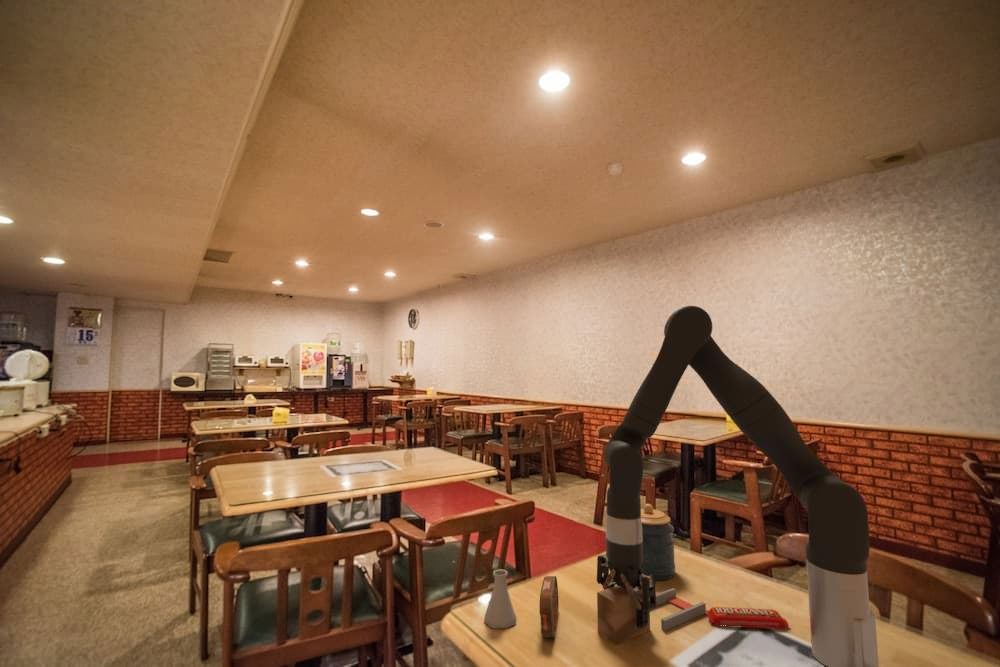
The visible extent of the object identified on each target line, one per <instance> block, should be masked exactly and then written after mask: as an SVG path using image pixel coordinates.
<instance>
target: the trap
mask: <svg viewBox="0 0 1000 667" xmlns="http://www.w3.org/2000/svg"><path fill="white" fill-rule="evenodd" d="M667 602H668V604H671V605H673V606H675V607H677V608H679V609H681V610H684V609H686V608H689V607H691V606H694V605H695V604H692V603H689V602H687V601H685V600H684V599H681V598H679V597H677V596H676V597H675V598H673V599H670V600H668V601H667Z"/></svg>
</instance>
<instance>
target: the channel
mask: <svg viewBox="0 0 1000 667" xmlns="http://www.w3.org/2000/svg"><path fill="white" fill-rule="evenodd" d="M675 597H677V589H676V588H674V587H672V588H670V589H667V590H664V591H661V592H657V593H656V605H657V606H659V605H662V604H665V603H667V602H668V600H670V599H673V598H675ZM649 601H650V598H649ZM706 604H707V603H706V602H704V601H701V602H699V603H697V604H693V605H694V606H691V607H689V608H686V609H684V610H683V609H681V610H679V611H677V612H675V613H673V614H670V615H668V616H666V617H663V618H662V619H660V622H661V630H662V631H664V632H666V631H668V630H670V629H673V628H675V627H677V626H680V625H682V624H684V623H686V622H689V621H690V620H693V619H695V618H697V617H699V616H702V615H704V614H707V612H706V610H707V608H706Z"/></svg>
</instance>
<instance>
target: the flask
mask: <svg viewBox="0 0 1000 667" xmlns="http://www.w3.org/2000/svg"><path fill="white" fill-rule="evenodd" d="M492 575H493V577H494V583H493V584H494V585H493V590H492V592H491V596H490V598H489V599H490V600H489V602H488V605H487V608H486V611H485V614H484V620H483V622H484V623H485V624H486V625H487V626H488V627H489V628H491V629H507V628H509V627H512V626H515V625H517V616H516V612H515V609H514V606H513V603H512V600H511V597H510V593H509V590H508V584H507V577H508V571H507V570H506V569H501V568H500V569H499V568H498V569H495V570H493V572H492Z"/></svg>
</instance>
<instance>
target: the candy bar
mask: <svg viewBox="0 0 1000 667" xmlns="http://www.w3.org/2000/svg"><path fill="white" fill-rule="evenodd" d="M706 615H707V617H708V620H709V623H713V624H714V625H715V626H718V627H729V626H741V627H740V628H751V629H752V628H754V629H755V628H756V629H772V628H774V629H777V630H778V629H780V630H781V629H784V628H785V627H790V625H789V623H788V621H787V620H786V619H785V618H783V616H781V614H780V613H779V612H778V611H777V610H776V609H769V608H754V607H753V608H752V607H751V608H750V607H749V608H748V607H729V606H728V607H727V606H712V607H711V608H709V610H707V609H706ZM720 625H722V626H720ZM723 625H724V626H723ZM725 625H726V626H725Z"/></svg>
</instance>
